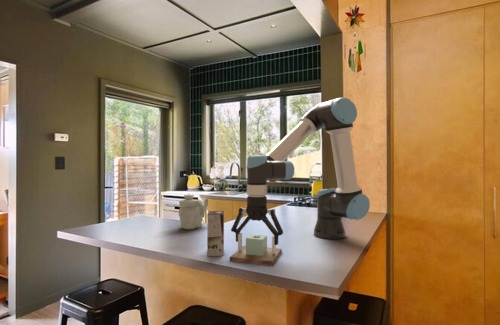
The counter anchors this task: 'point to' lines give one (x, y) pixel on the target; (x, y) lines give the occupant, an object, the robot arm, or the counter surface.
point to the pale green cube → (256, 245)
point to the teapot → (192, 212)
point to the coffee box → (215, 233)
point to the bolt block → (256, 257)
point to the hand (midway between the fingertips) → (256, 251)
